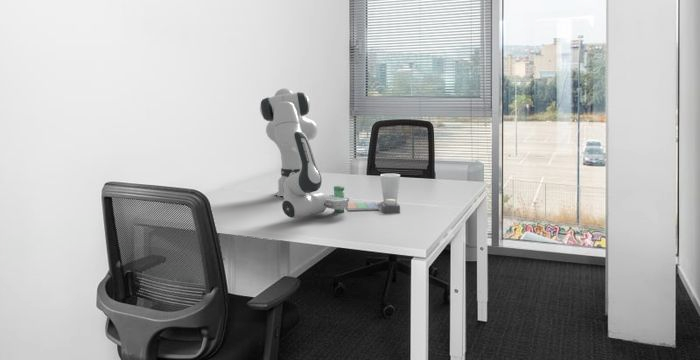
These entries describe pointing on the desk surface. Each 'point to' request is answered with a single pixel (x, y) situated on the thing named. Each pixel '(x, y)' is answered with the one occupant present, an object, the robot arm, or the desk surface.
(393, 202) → the button
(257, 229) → the desk surface
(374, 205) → the picture board
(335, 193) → the green canister
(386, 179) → the translucent tapered cup
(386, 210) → the button collar
